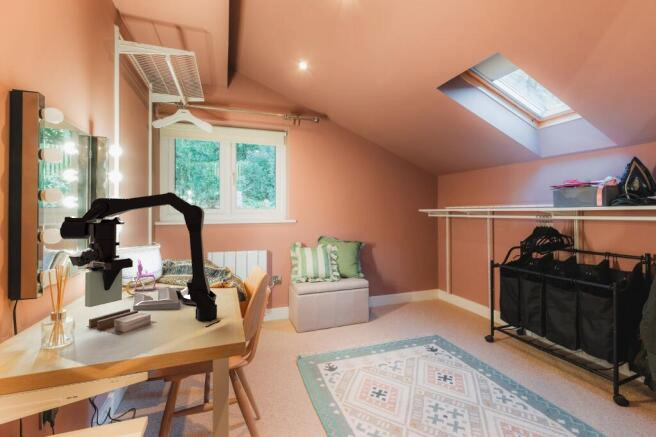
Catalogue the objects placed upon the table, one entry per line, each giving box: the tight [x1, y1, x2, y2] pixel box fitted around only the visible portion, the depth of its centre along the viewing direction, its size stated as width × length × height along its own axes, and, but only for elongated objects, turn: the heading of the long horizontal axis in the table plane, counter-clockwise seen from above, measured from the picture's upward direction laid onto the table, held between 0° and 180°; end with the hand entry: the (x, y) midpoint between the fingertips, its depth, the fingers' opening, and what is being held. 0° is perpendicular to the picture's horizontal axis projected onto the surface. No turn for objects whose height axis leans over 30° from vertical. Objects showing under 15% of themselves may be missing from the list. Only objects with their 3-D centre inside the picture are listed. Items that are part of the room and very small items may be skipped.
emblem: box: [132, 286, 196, 311], centre depth 122 cm, size 28×5×28 cm
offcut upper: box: [114, 312, 152, 327], centre depth 93 cm, size 5×8×2 cm, turn 156°
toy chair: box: [133, 258, 156, 293], centre depth 147 cm, size 8×9×15 cm
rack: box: [86, 308, 157, 336], centre depth 95 cm, size 16×12×4 cm
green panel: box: [84, 269, 123, 308], centre depth 92 cm, size 2×9×10 cm, turn 155°
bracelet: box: [125, 277, 145, 297], centre depth 135 cm, size 7×3×8 cm, turn 116°
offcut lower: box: [114, 319, 152, 333], centre depth 93 cm, size 5×8×2 cm, turn 157°
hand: (104, 289), depth 92 cm, fingers closed on green panel, 2 cm apart
